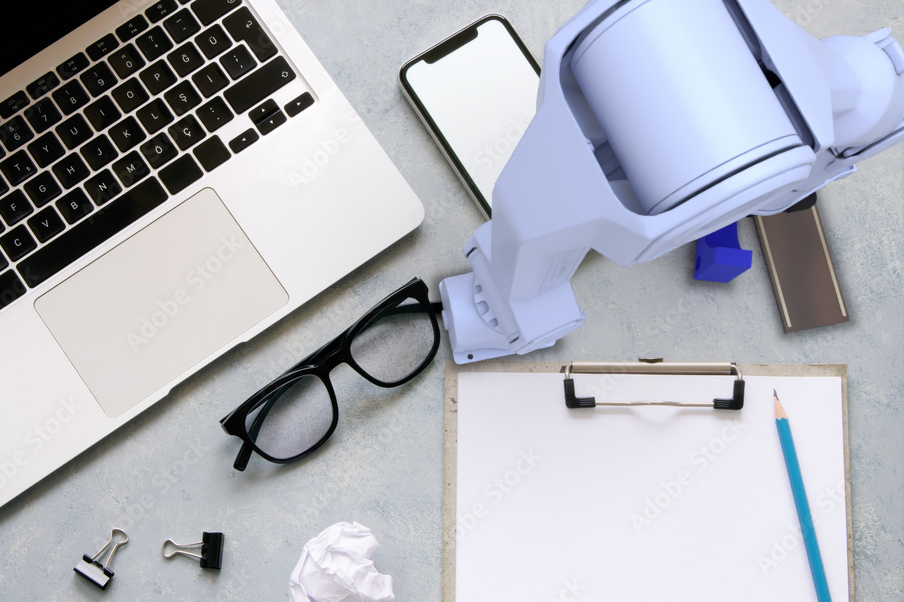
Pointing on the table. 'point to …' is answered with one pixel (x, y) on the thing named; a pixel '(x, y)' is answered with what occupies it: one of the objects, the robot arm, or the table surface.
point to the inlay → (801, 269)
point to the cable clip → (721, 256)
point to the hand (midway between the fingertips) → (720, 211)
